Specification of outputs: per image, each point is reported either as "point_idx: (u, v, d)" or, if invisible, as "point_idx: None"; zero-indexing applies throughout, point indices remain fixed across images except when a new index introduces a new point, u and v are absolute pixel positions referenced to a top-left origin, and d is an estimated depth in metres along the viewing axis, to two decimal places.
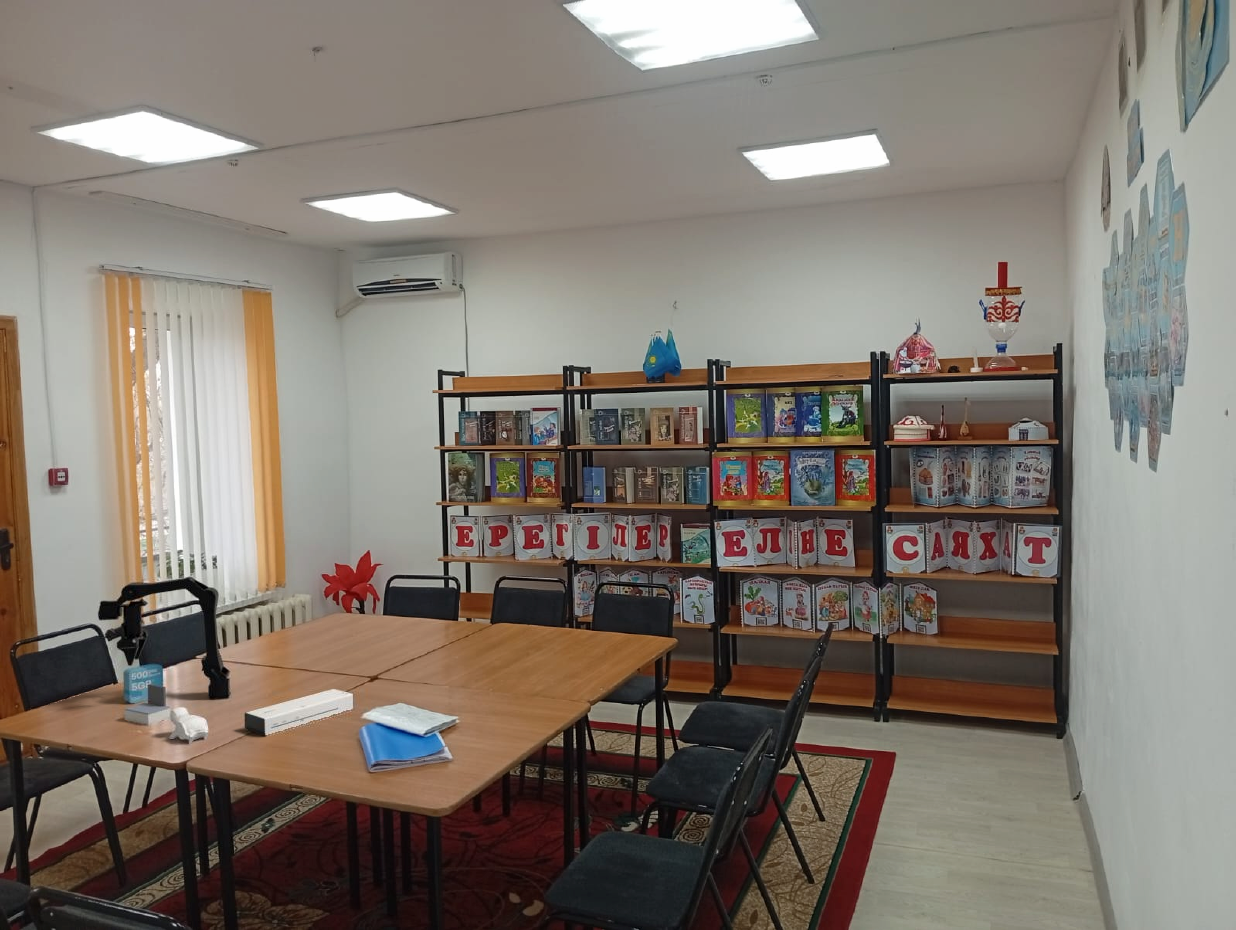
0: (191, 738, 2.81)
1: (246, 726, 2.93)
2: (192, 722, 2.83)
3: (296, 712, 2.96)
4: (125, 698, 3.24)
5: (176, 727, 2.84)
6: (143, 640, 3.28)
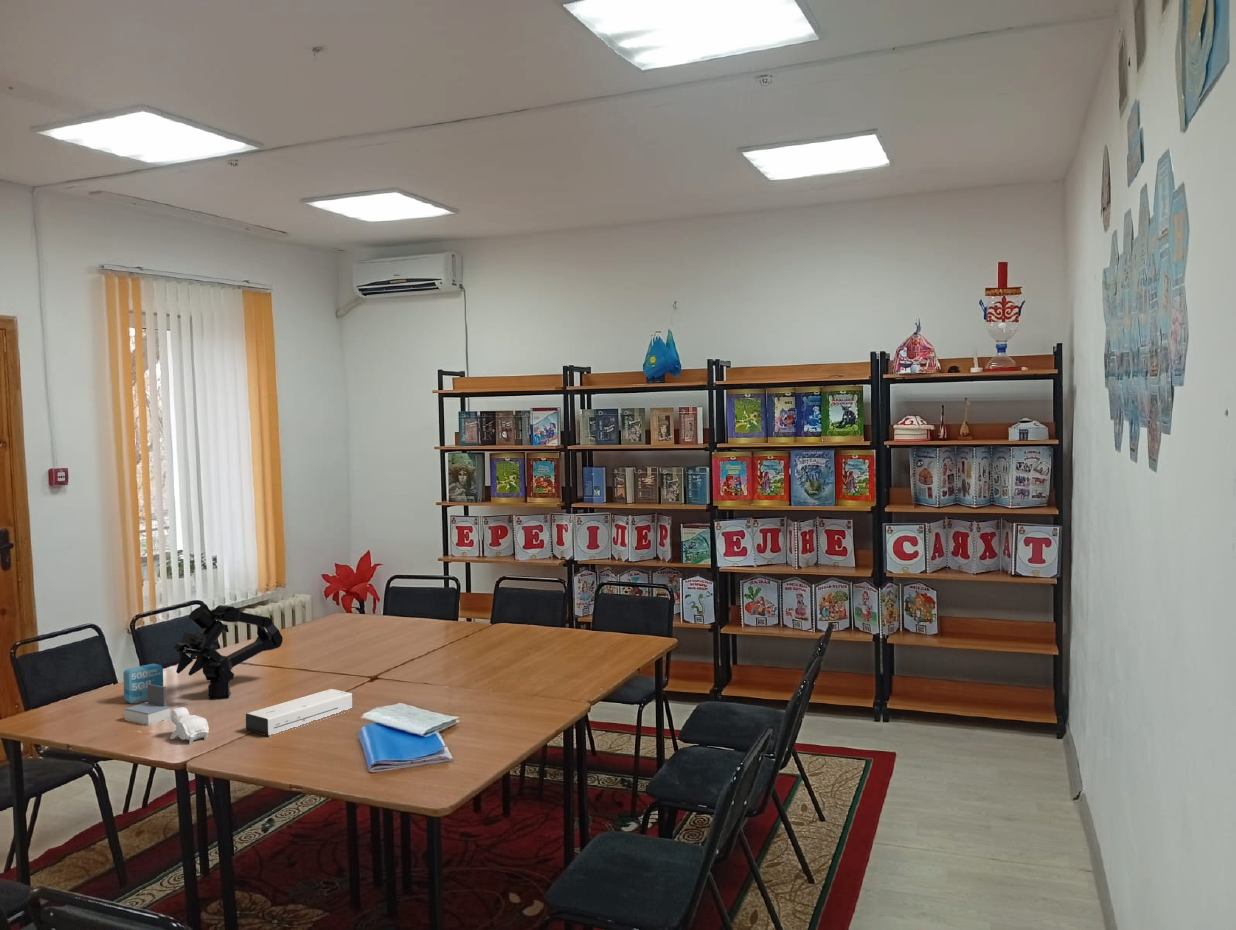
0: (191, 738, 2.81)
1: (247, 727, 2.92)
2: (193, 722, 2.83)
3: (298, 712, 2.96)
4: (125, 698, 3.24)
5: (177, 727, 2.84)
6: (191, 660, 3.24)
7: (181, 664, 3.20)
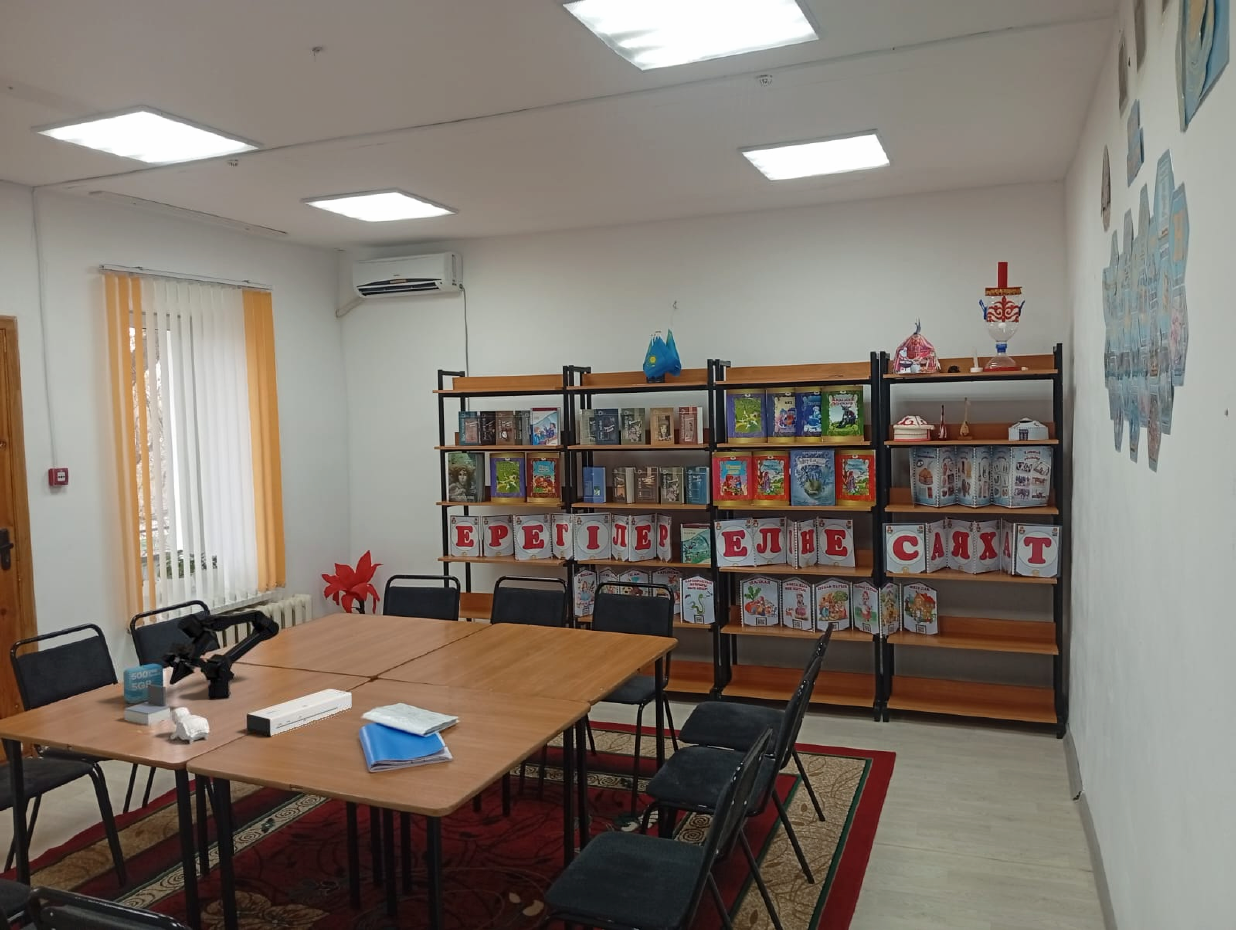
0: (192, 738, 2.80)
1: (248, 727, 2.92)
2: (193, 722, 2.83)
3: (299, 712, 2.96)
4: (125, 698, 3.24)
5: (177, 727, 2.84)
6: None
7: None
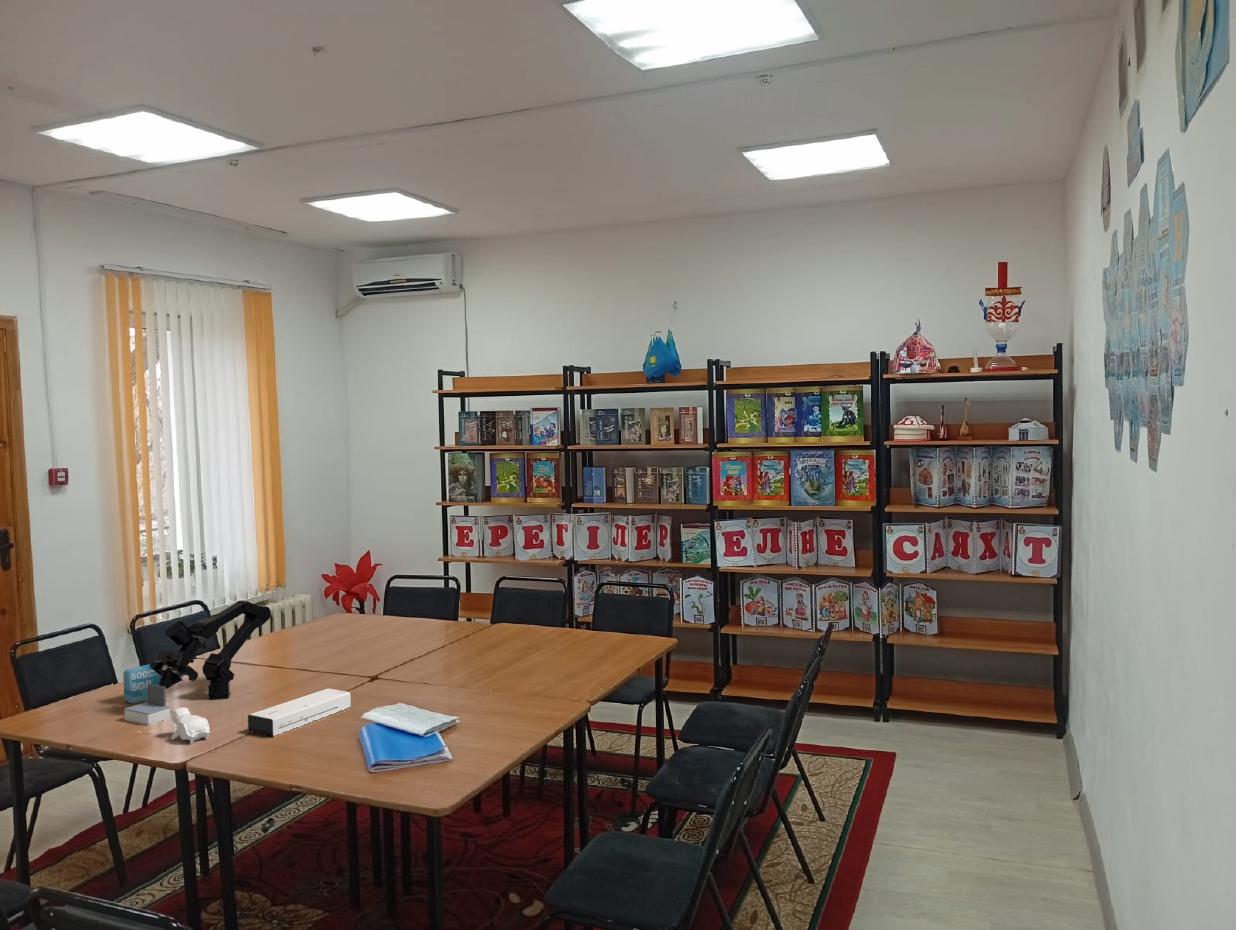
0: (192, 738, 2.80)
1: (249, 728, 2.91)
2: (193, 723, 2.83)
3: (300, 712, 2.96)
4: (125, 698, 3.24)
5: (178, 727, 2.84)
6: None
7: None
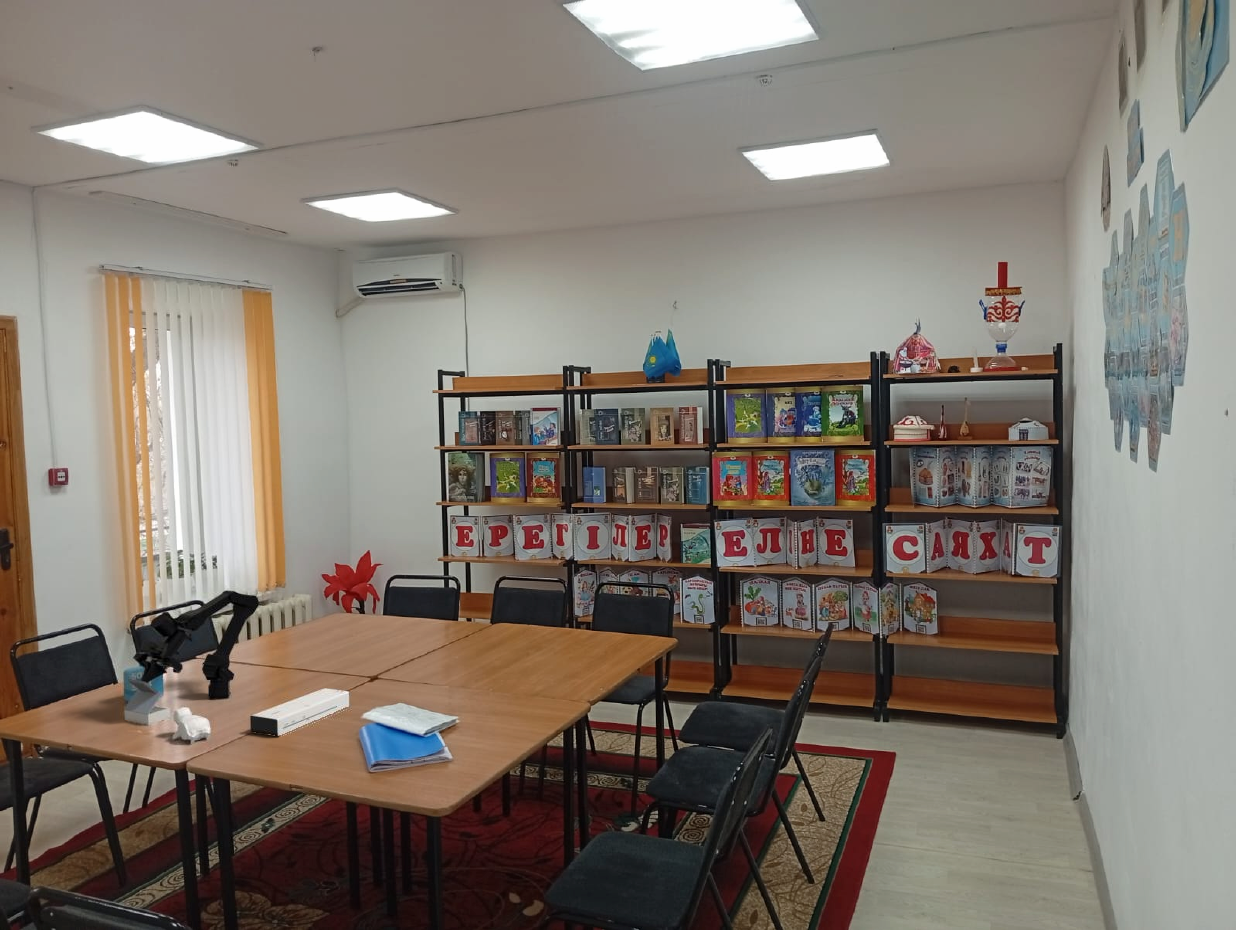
0: (193, 738, 2.80)
1: (252, 729, 2.90)
2: (194, 723, 2.83)
3: (303, 712, 2.97)
4: (125, 698, 3.24)
5: (179, 727, 2.84)
6: None
7: None
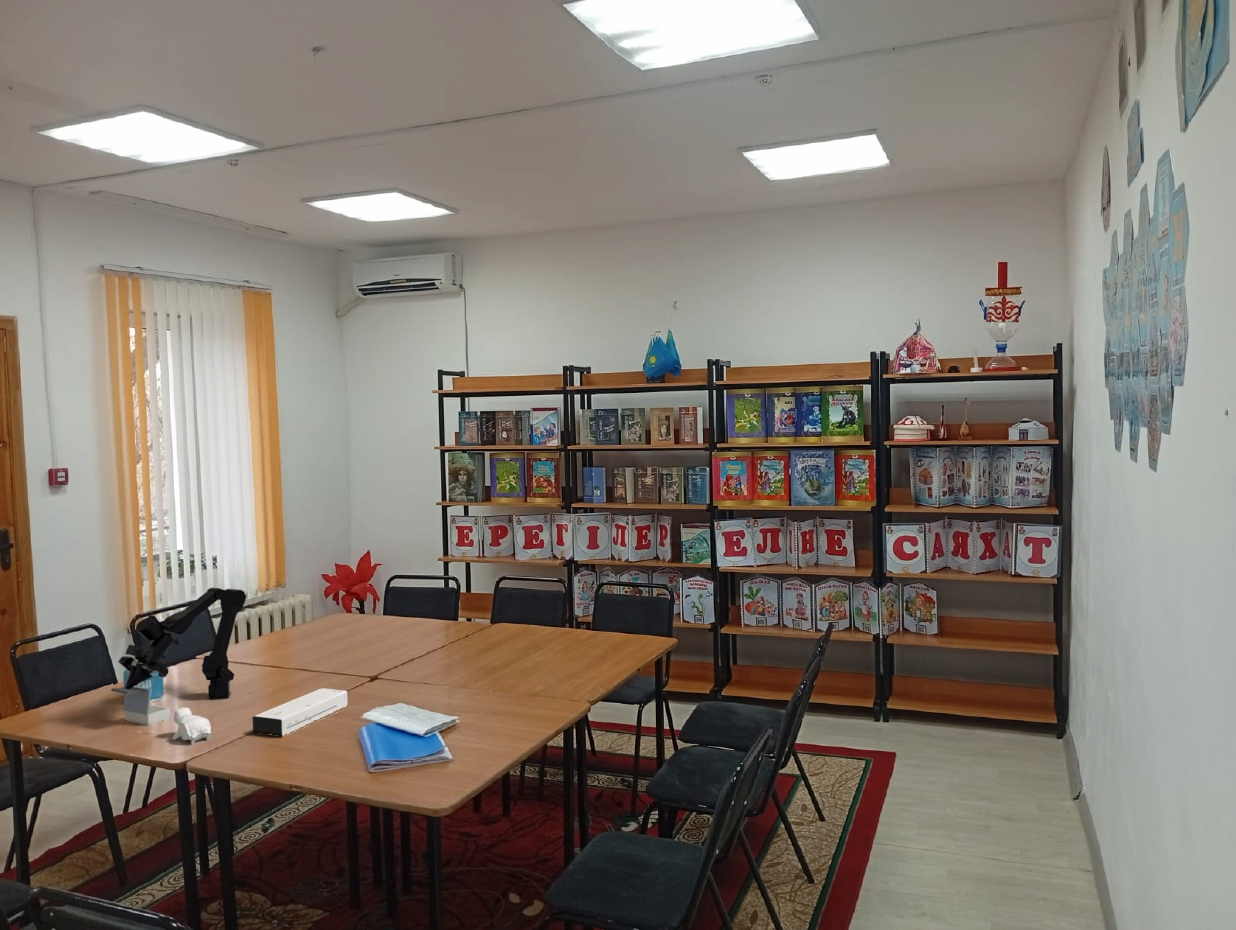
0: (193, 739, 2.80)
1: (254, 730, 2.90)
2: (195, 723, 2.83)
3: (305, 712, 2.97)
4: None
5: (179, 727, 2.84)
6: None
7: None
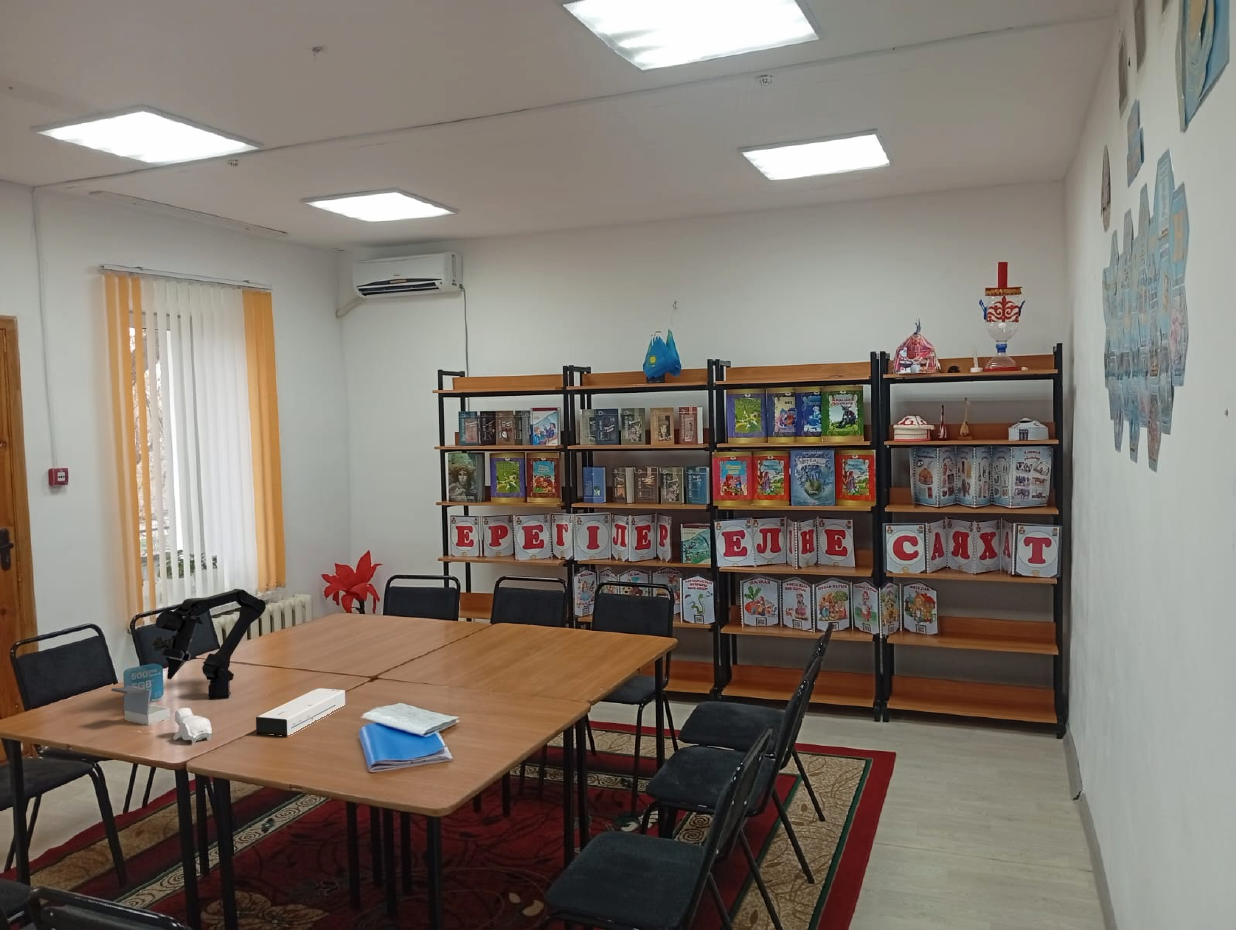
0: (194, 739, 2.80)
1: (258, 730, 2.89)
2: (195, 723, 2.82)
3: (308, 711, 2.97)
4: None
5: (180, 728, 2.84)
6: (182, 661, 3.17)
7: None
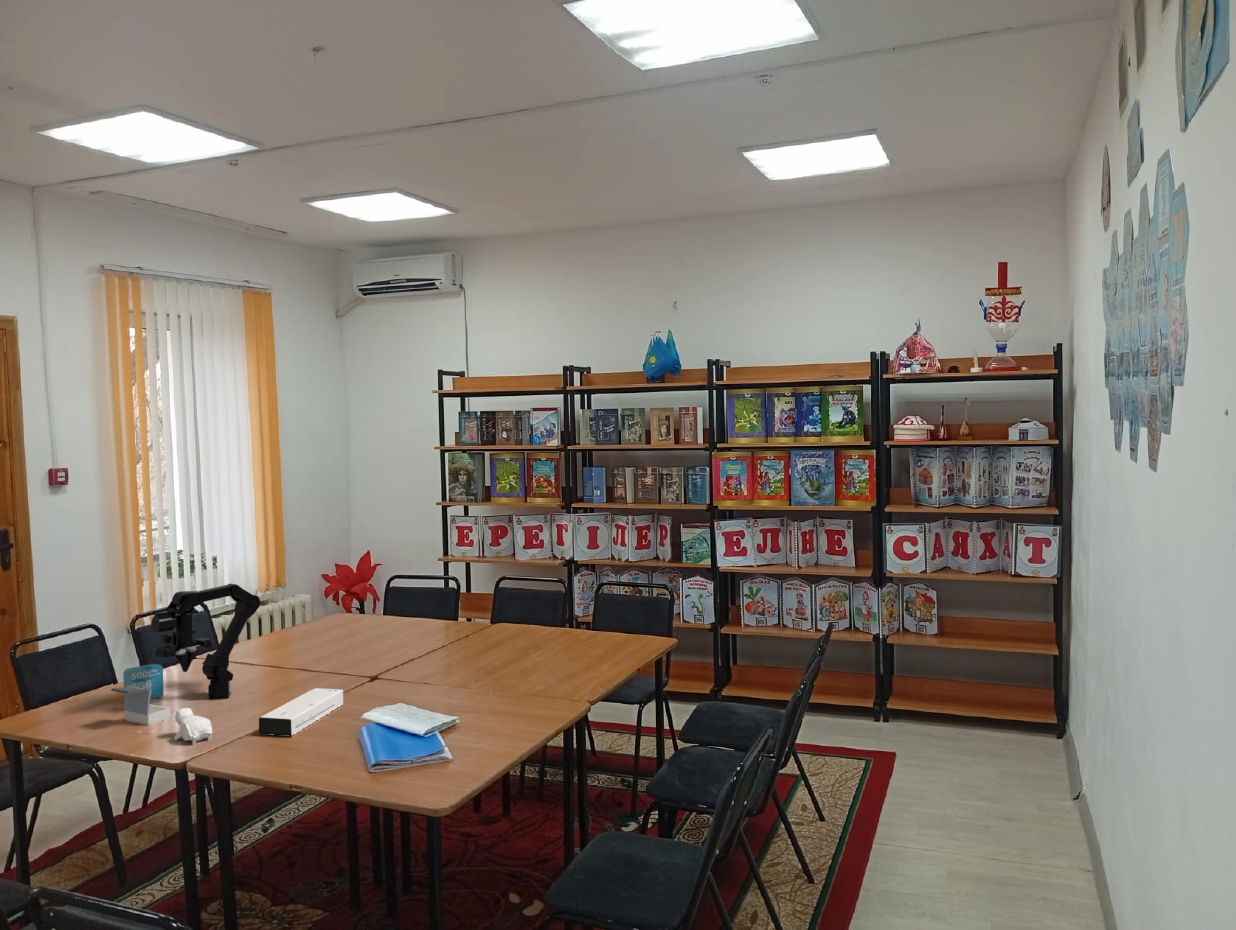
0: (195, 739, 2.80)
1: (260, 731, 2.88)
2: (196, 723, 2.82)
3: (310, 711, 2.97)
4: None
5: (180, 728, 2.83)
6: (190, 653, 3.20)
7: None
